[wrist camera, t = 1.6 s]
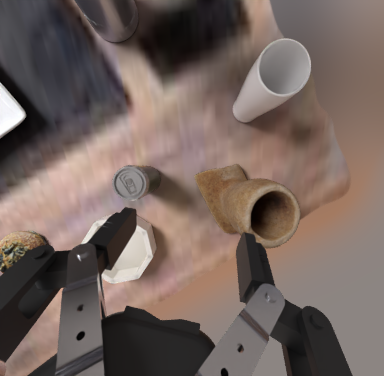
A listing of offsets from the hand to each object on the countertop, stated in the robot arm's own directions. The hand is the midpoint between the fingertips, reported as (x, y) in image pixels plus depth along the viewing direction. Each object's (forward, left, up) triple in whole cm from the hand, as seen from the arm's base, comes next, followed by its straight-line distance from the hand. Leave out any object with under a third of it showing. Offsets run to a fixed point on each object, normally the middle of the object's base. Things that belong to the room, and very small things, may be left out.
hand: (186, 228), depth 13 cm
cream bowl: (-5, -18, -25) cm, 31 cm away
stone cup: (+9, +4, -25) cm, 27 cm away
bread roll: (-22, -32, -25) cm, 46 cm away
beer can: (-8, -3, -25) cm, 26 cm away
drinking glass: (+1, +20, -25) cm, 32 cm away
